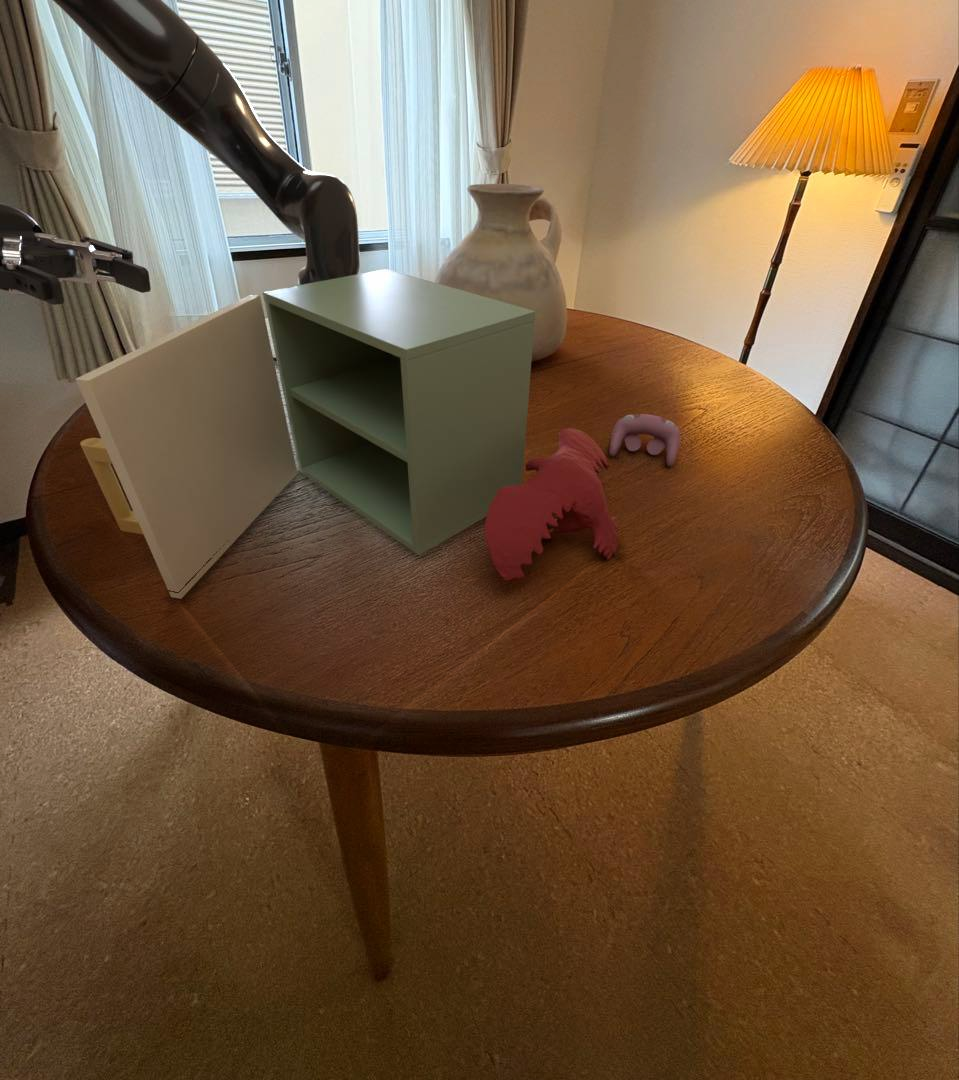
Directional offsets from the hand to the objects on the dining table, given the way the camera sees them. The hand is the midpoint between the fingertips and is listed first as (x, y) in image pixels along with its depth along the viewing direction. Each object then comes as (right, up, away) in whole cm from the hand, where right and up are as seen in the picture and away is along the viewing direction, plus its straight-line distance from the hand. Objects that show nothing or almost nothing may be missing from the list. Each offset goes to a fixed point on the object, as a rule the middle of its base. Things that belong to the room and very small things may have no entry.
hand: (105, 286), depth 50 cm
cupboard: (+23, -15, +27) cm, 39 cm away
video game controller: (+58, -10, +35) cm, 69 cm away
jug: (+38, +18, +71) cm, 82 cm away
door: (+1, -21, +19) cm, 28 cm away
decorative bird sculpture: (+44, -23, +18) cm, 53 cm away
